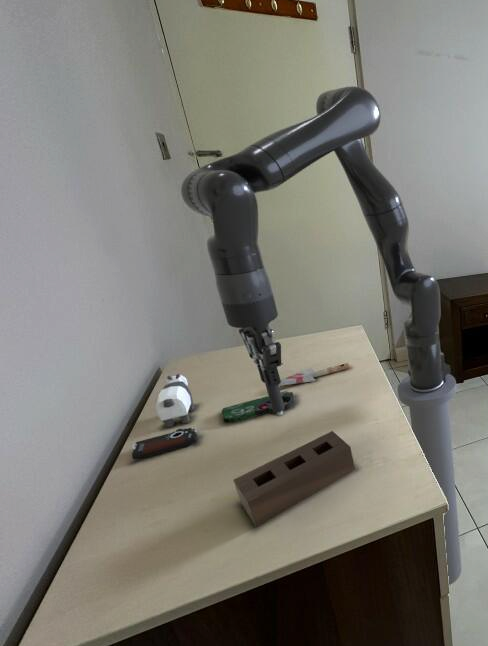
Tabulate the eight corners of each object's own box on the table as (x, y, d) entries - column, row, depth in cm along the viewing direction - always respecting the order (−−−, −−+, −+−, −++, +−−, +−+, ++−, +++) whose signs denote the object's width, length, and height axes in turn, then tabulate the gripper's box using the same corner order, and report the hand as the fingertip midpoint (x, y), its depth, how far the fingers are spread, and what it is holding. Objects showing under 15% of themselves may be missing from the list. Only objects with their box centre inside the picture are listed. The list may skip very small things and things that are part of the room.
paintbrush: (274, 376, 115) (346, 359, 126) (276, 384, 115) (347, 367, 127) (276, 381, 112) (349, 364, 123) (278, 390, 113) (350, 371, 124)
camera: (136, 437, 91) (196, 422, 96) (140, 447, 91) (199, 431, 97) (130, 451, 85) (193, 434, 91) (134, 462, 86) (196, 444, 92)
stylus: (283, 409, 78) (268, 355, 73) (287, 413, 77) (272, 358, 72) (272, 414, 77) (256, 359, 72) (276, 418, 75) (261, 362, 71)
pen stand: (241, 503, 76) (232, 479, 74) (337, 452, 89) (332, 430, 87) (256, 527, 71) (247, 502, 69) (355, 469, 84) (350, 446, 82)
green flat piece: (221, 426, 96) (221, 406, 103) (223, 431, 96) (223, 411, 104) (296, 405, 104) (291, 388, 112) (297, 409, 105) (292, 392, 112)
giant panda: (190, 424, 99) (178, 391, 95) (162, 431, 97) (148, 397, 93) (199, 396, 111) (188, 366, 107) (174, 401, 108) (163, 371, 105)
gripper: (286, 297, 66) (308, 387, 73) (256, 282, 74) (278, 364, 81) (235, 310, 61) (263, 405, 67) (209, 292, 69) (236, 378, 76)
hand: (271, 382), depth 74 cm, fingers closed on stylus, 2 cm apart
